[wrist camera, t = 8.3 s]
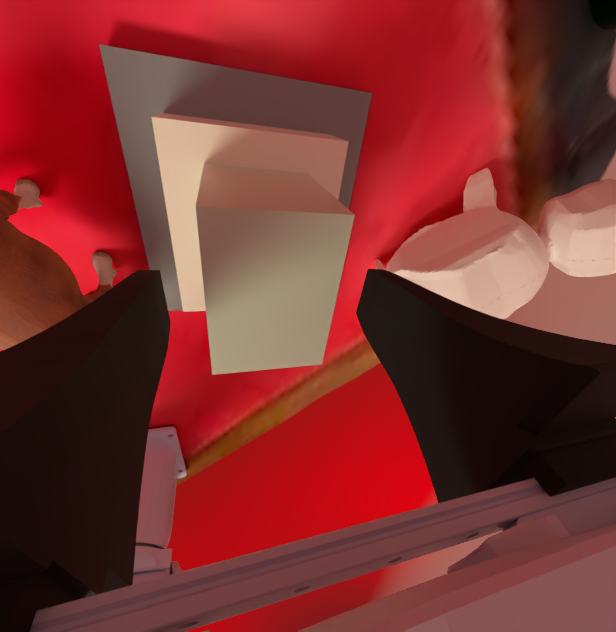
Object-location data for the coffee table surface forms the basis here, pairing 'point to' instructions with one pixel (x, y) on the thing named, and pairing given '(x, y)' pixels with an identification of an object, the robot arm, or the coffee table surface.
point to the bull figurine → (37, 275)
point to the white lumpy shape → (510, 247)
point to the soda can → (603, 13)
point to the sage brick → (268, 266)
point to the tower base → (215, 99)
